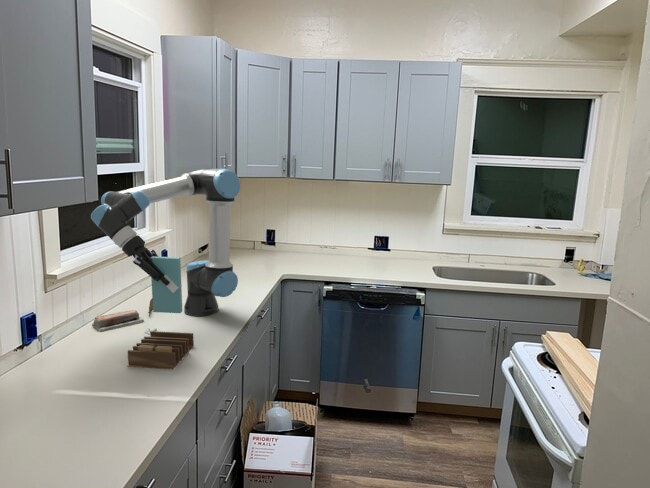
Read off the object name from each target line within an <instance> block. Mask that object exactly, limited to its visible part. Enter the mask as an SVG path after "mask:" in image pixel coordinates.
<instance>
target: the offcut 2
mask: <svg viewBox="0 0 650 488" xmlns="http://www.w3.org/2000/svg"><path fill="white" fill-rule="evenodd" d="M155 352H172V347H171V346H157V347H156V348H155Z"/></svg>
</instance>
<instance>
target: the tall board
mask: <svg viewBox="0 0 650 488" xmlns="http://www.w3.org/2000/svg"><path fill="white" fill-rule="evenodd" d="M151 259H152V262H153V263H154V264H155V265H156V267H157V268H158V269H159V270H160V271H161V272H162V273H163V274H164V276H165V275H167V276H168V277H169V278H170V279H171V280H172V281H173V282H174V283H175V284H176V285H177V286H178V287H179V288H178V289H177V290H176V291H175V292H174V293H172V292H171V291H170V290H169V289H168V288H167V287H166V286H165V285H164V284H163V283H162V282H161V281H160V280H159V281H158V282H157V281H156V280H157V279H156V280H154V279H153V278H152V277H151V276H150V278H151V279H150V280H151V295H152V297H151V299H152V300H153V311H152V312H153V313H166V314H182V313H183V295H182V286H181V285H182V269H181V268H182V264H181V257H178V256H176V257H175V256H159V257H154V256H153V257H151Z"/></svg>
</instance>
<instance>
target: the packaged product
mask: <svg viewBox="0 0 650 488" xmlns="http://www.w3.org/2000/svg"><path fill="white" fill-rule="evenodd" d="M141 323H145V319H144V318H142V317H140V313H139V312H138V311H137V310H134V309H131V310H126V311H122V312H121V311H120V312H115V313H110V314H109V313H108V314H104V315H100V316H96V317H95V318H94V321H93V323H91V325H92V326H93V327H94V328H95V329H96V330H97V331H98V332H106V331H110V330H116V329H119V328H125V327H128V326H133V325H138V324H141Z"/></svg>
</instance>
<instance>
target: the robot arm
mask: <svg viewBox="0 0 650 488" xmlns="http://www.w3.org/2000/svg"><path fill="white" fill-rule="evenodd" d="M240 190H241V181H240V177H239V176H238V175H237V174H236V173H235V172H234V171H232V170H230V169H227V168H214V167H213V168H211V167H204V168H200V169H196V170H193V171H190V172H189V171H188V172H186V173H182V174H181V175H180V176H178V177H175V178H174V177H173V178H170V179H166V180H162V181H158V182H154V183H153V182H152V183H148V184H144V185H141V186H136V187H131V188H128V189H123V190H118V191H107V192H105V193H104V194H103V195H102V196H101V199H100V203H101V205H99V206H97V207H95V209H94V210H93V211H92V212H91V213H90V219H91V220H92V222H93V223H94V224H95V225H96V226H97V228H99V229H100V230H101V231H102V232H103V233H104V234H105V235H106V236H107V237H109V239H110V240H112V242H113V243H114V245H116V246H118V248H120V249H121V251H122V252H123V253H124V254H126V256H127V257H132V256H133V259H134V260H133V261H132V263H133V264H135V265H136V266H138V267H139V269H141V270H143V271H144V272H145V273H146V274H147V275H148V276H149V277H150V278H151V277H152V278H153V279H154V280H156V279H157V280H156V281H157V282H158V281H159V280H160V281H161V282H162V283H163V284H164V285H165V286H166V287H167V288H168V289H169V290H170V291H171V292H172V293H174V292H175V291H176V290H177V289H178V288H179V287H178V286H177V285H176V284H175V283H174V282H173V281H172V280H171V279H170V278H169V277H168V276H167V275H165V276H164V274H163V273H162V272H161V271H160V270H159V269H158V268H157V267H156V265H155V264H154V263H153V262H152V259H151V257H153V256H154V257H160V255H158V254H157V251H155V249H151V250H149V248H147V247H146V246H145V245H146V241H145V240H144V239H143V238H142V237H141V236H140V235H138V233H137V232H136V231H135V230H134V229H133V228H132V227H131V226H130V225H129V224H128V223H129V222H130V221H132V219H134V218H135V217H136V216H138V215H139V214H140V213H142V212H144V211H145V210H146V209H147V208H148V207H149V206H150V205H151V204H154V203H159V202H161V201H165V200H171V199H172V198H174V199H175V198H177V197H180V196H181V197H182V196H185V195H186V196H189V197H191V196H195V195H196V196H197V195H204V196H205V198H206V199H205V201H206V202H207V203H208V204H209V232H208V233H209V234H208V236H209V237H208V238H209V246H208V260H206V259H205V260H198V261H192V262H188V263H187V264H186V284H187V285H186V287H187V296H186V299H185V303H184V308H183V311H184V314H186V315H188V316H191V317H206V316H210V315H214V314H215V313H218V312H219V303H218V301H217V298H216V297H220V298H227V297H229V296H231V295H233V292H234V291H236V289H237V287H238V285H239V278H238V275H237V274H236V273H235V272H234V270H233V269H234V264H233V263H232V262H231V260H230V258H231V257H230V256H231V254H230V253H231V252H230V250H231V249H230V248H231V247H230V246H231V211H232V210H231V209H232V207H231V206H232V205H233V204H234V203H235V198H236V197H237V196H238V195H239V194H238V193H240ZM181 287H183V286H182V284H181Z"/></svg>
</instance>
